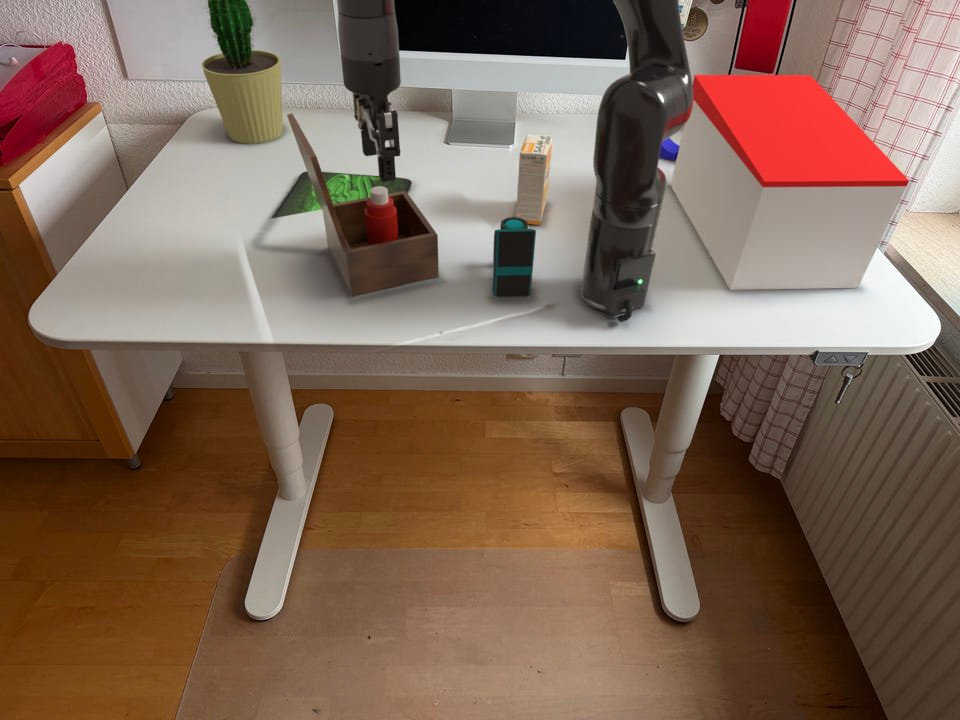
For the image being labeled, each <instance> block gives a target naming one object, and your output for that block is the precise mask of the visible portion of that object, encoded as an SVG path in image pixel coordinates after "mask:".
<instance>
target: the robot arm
mask: <svg viewBox="0 0 960 720" xmlns="http://www.w3.org/2000/svg"><path fill="white" fill-rule="evenodd" d="M395 1H396V0H336V4H337V13H338V14H337V33H338V43H339V53H340V61H341V72H342V80H343V82H342V83H343V86H344V87H345V89H346V90H348V91H349V92H350V93H352V100H353V111H354V115H353V117H354V119H355V121H356V122H358V123H357V127H358V129H359V131H360V137H361V148H362V153H363V155H364V156H365V157H370V156H371V157H372V156H377V157H376V158H377V168H378V176H379V178H380V180H381V181H382V182H386V181H393V180H394V179H395V178H396V176H397V174H396V157H400V156H401V143H400V131H399V120H398V118H399V114H398V112H397V110H394V109H393V105H392V103H391V101H389V98H388V96H389V95H390V94H391V93H392V92H395V91H396V90H397V89H399V88H400V86H401V83H402V79H401V63H400V62H401V59H400V39H399V27H398V22H397V15H396V3H395ZM612 1H613V4H614V5H615V7H616V9H617V11H618V13H619V15H620V18H621V21H622V23H623V28H624V33H625V37H626V45H627V51H628V53H627V54H628V62H629V73H628V74H625V75H623V76H621V77H619V78H618V79H616V80H615V81H613V82H612V83H610V85H609V86H607V88H606V90H605V91H604V93H603V95H602V96H601V97H602V98H601V100H600V103H599V107H598V112H597V119H596V127H595V137H594V149H593V161H592V163H593V166H592V167H593V172H594V176H595V179H596V182H595V188H594V189H595V190H594V197H593V202H592V203H593V204H592V210H591V216H590V224H589V229H588V237H587V243H586V249H585V250H586V251H585V257H584V265H583V271H582V278H581V283H580V287H579V294H580V297H581V300H583V301H584V303H586V305H588V306H590V307H591V308H593V309H595V310H597V311H601V312H605V313H606V315H608V316H615V315H618V317H617V321H618V322H619V323H624V322H626V321H628V320H630V318H631V317H632V315H633V311H634V310H637V309H641V308H644V307H645V304H646V299H647V295H648V290H649V286H650V281H651V277H652V273H653V268H654V264H655V259H656V253H655V251H654V250H653V246H654V242H655V237H656V233H657V228H658V224H659V219H660V215H661V210H662V207H663V202H664V198H665V194H666V189H667V183H668V182H667V181H668V180H667V176H666V174H665V172H664V171H663V170H662V169H661V168H659V162H660V157H659V156H660V150H661V145H662V141H664V140H666V139H667V138H669V137H670V138H671V137H672V136H674V135H675V134H677V133H679V131H681V130H682V129H684V125H685V124H686V123H687V121H688V119H689V117H690V115H691V112H692V108H693V79H692V74H691V69H690V62H689V58H688V53H687V47H686V41H685V37H684V32H683V31H684V30H683V26H682V21H681V19H682V18H681V12H680V4H679V2H680V1H679V0H612ZM387 141H388V145H389V146H386V142H387ZM622 313H624V314H622ZM619 314H620V315H619Z"/></svg>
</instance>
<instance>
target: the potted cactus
mask: <svg viewBox="0 0 960 720" xmlns="http://www.w3.org/2000/svg"><path fill="white" fill-rule="evenodd" d="M248 4H250V1H248V0H207V5H205V7H203V10H204V9H206V8H208V11H206V13H208V14H209V23H210V27H208V29H211V30H212V32H213V35H212V38H214V41H212V42H213V43H214V42H215V40H216V48H219V49H220V50H218V51H217V54H214V55H211V56H208V57H206V59H204V60H203V61H202V63H201V69H202V70H203V74H204V76H205V79H206V82H207V84H208V87H209V89H210V91H211V94H212V97H213V99H214V101H215V105H216V107H217V109H218V112H219V114H220V117H221V119H222V122H223V125H224V127H225V130H226V132H227V135H228V136H229V138H230V139H231V140H232V141H234V142H235V143H240V144H248V145H251V144H252V145H253V144H261V143H262V144H263V143H267V142H271V141H273V140H276V139H278V138H279V137H281V135H283V130H284V126H283V124H284V123H283V96H282V95H283V94H282V93H283V92H282V67H281V62H282V59H281V57H280V56H279V55H278V54H276V53H274V52H270V51H266V50H259V49H254V48H255V45H253V42H254V37H255V35H257V33H255V32H254V29H253V27H254V28H255V29H256V28H257V26H256V25H255V23H257V21H258V20H257V17H254V16H255V15H256V16H257V14H256V13H254V11H253V12H252V9H250V8H251V7H252V5H248ZM252 15H253V16H252ZM253 33H254V34H253ZM220 51H221V52H220ZM219 52H220V53H219Z"/></svg>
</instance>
